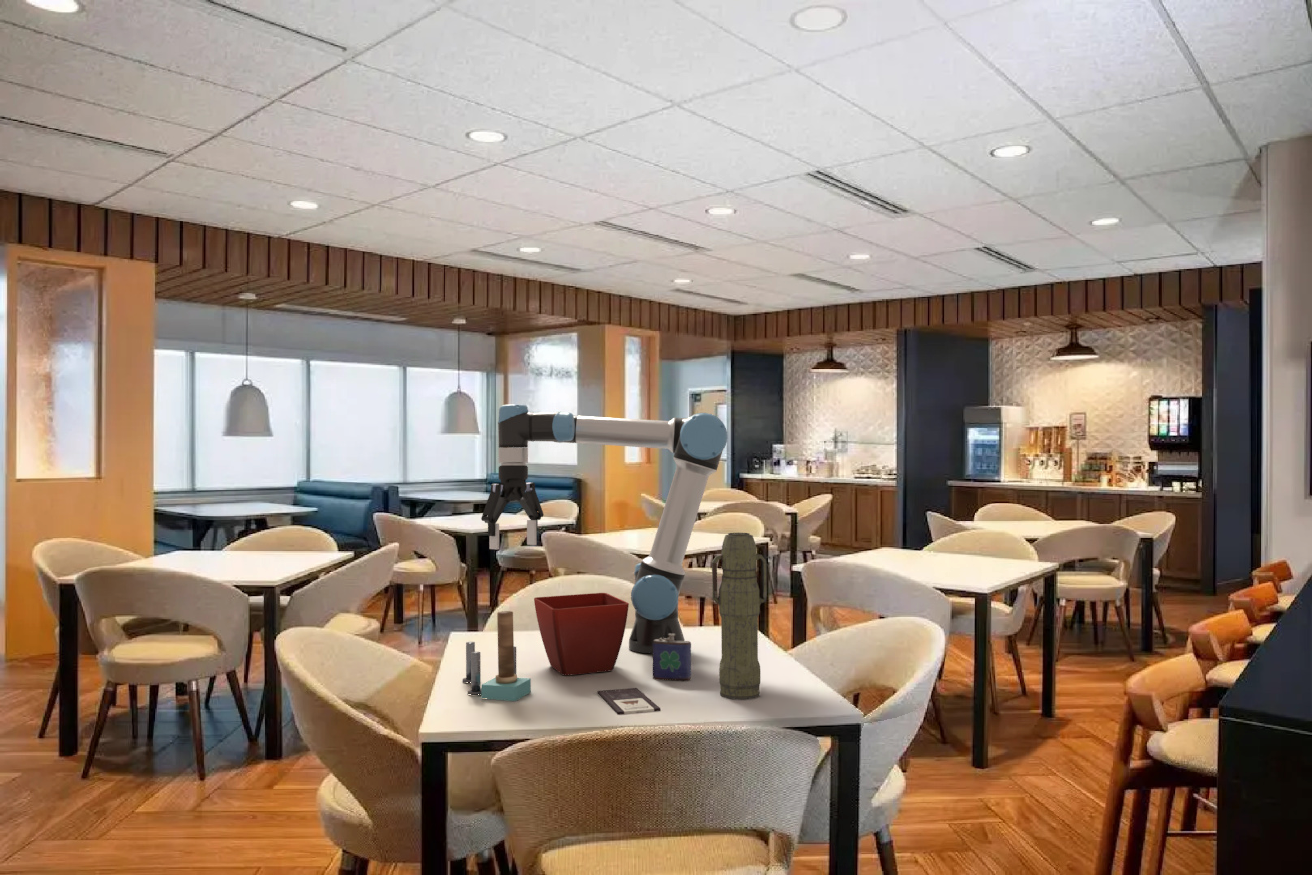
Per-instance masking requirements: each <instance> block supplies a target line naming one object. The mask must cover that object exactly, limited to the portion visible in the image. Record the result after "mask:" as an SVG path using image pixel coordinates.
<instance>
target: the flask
mask: <svg viewBox="0 0 1312 875" xmlns="http://www.w3.org/2000/svg"><path fill="white" fill-rule="evenodd" d="M668 635H669V637H668V638H663V639H665V640H663V639H662V638H660V639H656V640H654V641H653V653H652V679H653V680H656V681H657V680H658V681H672V682H674V681H675V682H690V681H691V680H692V653H691V652H692V642H691V641H690V640H685V641H674V636H675V634H673V633H672V634H671V633H670V634H668Z"/></svg>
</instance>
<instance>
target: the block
mask: <svg viewBox="0 0 1312 875" xmlns="http://www.w3.org/2000/svg"><path fill="white" fill-rule="evenodd" d="M531 684H532V679H531V678H530V677H529V678H528V677H517V682H514V683H510V684H499V683H496V676H495V677H494V678H493V677H492V678H491V679H490V680H488V681H486V682H484V683H482V684H481V695H480V696H481V698H487V699H486V700H493V699H495V701H507V702H516V701H518V700H520V699H522V698H524V697H525V696H527V695H529V694H530V693H531V692H532V691H531V690H532V685H531Z"/></svg>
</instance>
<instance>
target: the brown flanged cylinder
mask: <svg viewBox="0 0 1312 875" xmlns="http://www.w3.org/2000/svg"><path fill="white" fill-rule="evenodd" d="M496 614H497V616H496V617H497V618H496V619H497V621H496V622H497V666H498V668H497V669H498V670H497V671H498V672H497V674H496V675H495V677H496V683H499V684H510V683H514V682H517V678H518V675H517V673H516V674H514V646H515V645H514V641H515V640H514V639H515V638H514V612H513V611H511V610H504V611H503V610H502V611H498V612H497V613H496Z"/></svg>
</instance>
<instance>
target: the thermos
mask: <svg viewBox="0 0 1312 875" xmlns="http://www.w3.org/2000/svg"><path fill="white" fill-rule="evenodd" d="M719 560H721V570H722V575H721V582H720V586H719V589H718V562H719ZM759 560H760V561H761V563H760V564H761V594H760V587H759V584H758V581H757V580H758V578H757V576H758V575H757V574H756V570H757V561H759ZM767 564H768V563H767V560H766V558H765V557H764V555H762V554H759V553H757V544H756V542H755V539H754V535H752V534H750V532H749V533H748V532H729V533H728V534H725V535H724V538H723V541H722V545H721V553H720V554H719V555H716V556H715V557H714V558H713V559H712V561H711V580H712V581H711V582H712V584H711V588H712V589H711V590H712V591H711V599H712V600H713V601H714V602H715V603H716V604H717V605H718V613H719V616H720V617H721V619H720V620H721V626H720V627H721V628H720V630H721V658H720V661H719V665H718V666H719V669H718V672H719V675H718V677H719V678H718V680H719V681H718V683H719V684H720V686H719V687H720V688H719V689H720V690H719V695H720V696H721V697H723V698H725V699H729V700H736V701H737V700H738V701H740V700H741V701H743V700H744V701H745V700H753V699H754V700H755V699H756V698H757V699H758V698H759V697H760V695H761V692H760V685H761V664H760V662H759V661H760V660H759V654H758V653H759V649H758V647H759V646H758V645H759V640H758V639H759V637H758V636H759V635H758V633H759V632H758V629H759V628H758V626H759V625H758V622H759V621H758V618H759V616H760V612H761V611H760V610H761V609H760V608H761V607H760V606H761V604H763V603H767V597H768V594H767V593H768V590H767V589H768V580H767V579H768V572H767V567H768V566H767Z"/></svg>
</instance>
